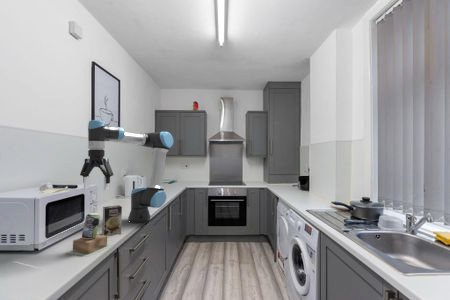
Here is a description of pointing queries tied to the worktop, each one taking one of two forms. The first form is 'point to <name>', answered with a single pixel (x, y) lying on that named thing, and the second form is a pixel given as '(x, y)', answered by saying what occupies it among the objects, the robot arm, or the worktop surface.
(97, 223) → the beverage can
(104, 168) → the robot arm
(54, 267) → the worktop surface
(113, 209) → the coffee box
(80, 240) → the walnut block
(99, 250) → the build pad
